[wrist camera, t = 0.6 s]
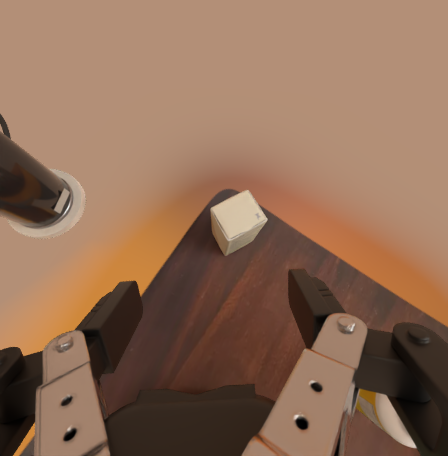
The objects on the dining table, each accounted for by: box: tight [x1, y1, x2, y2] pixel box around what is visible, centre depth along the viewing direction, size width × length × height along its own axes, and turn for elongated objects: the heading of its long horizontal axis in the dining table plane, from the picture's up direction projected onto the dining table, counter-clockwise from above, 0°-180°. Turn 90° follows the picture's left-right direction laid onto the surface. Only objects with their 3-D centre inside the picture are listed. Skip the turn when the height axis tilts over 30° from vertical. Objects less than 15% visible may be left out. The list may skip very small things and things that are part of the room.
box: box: [211, 190, 267, 256], centre depth 31 cm, size 5×4×11 cm
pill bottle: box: [356, 389, 417, 448], centre depth 26 cm, size 6×6×12 cm
